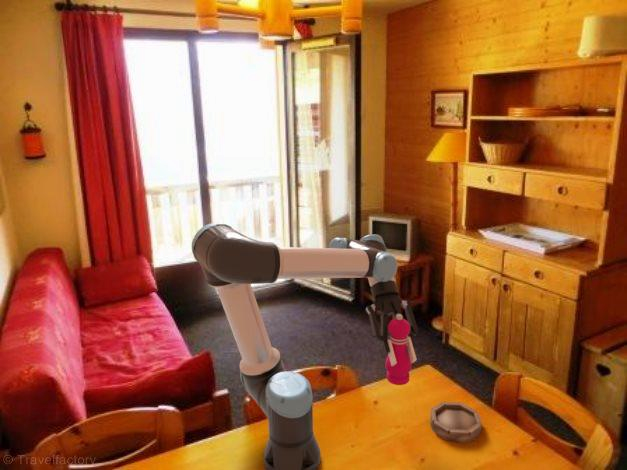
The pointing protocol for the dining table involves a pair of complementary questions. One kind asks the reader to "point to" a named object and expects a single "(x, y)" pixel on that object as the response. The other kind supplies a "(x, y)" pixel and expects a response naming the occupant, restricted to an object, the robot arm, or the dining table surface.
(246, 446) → the dining table surface
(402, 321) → the pepper mill
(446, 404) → the bowl
